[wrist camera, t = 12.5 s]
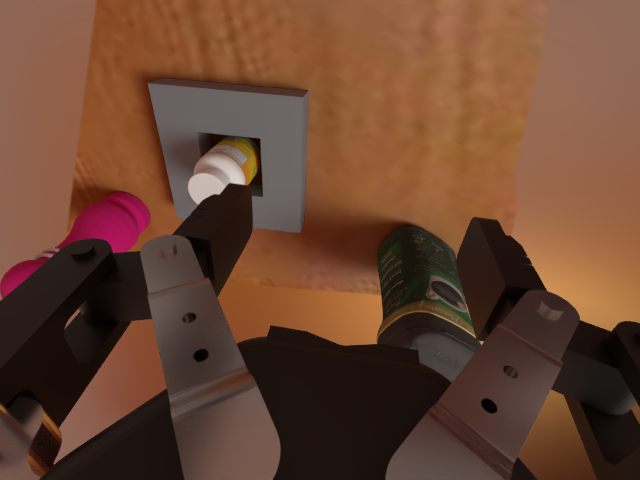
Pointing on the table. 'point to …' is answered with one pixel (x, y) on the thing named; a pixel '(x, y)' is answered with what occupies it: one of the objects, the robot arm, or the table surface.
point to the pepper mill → (92, 233)
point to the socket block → (237, 120)
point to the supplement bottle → (225, 167)
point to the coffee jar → (424, 301)
